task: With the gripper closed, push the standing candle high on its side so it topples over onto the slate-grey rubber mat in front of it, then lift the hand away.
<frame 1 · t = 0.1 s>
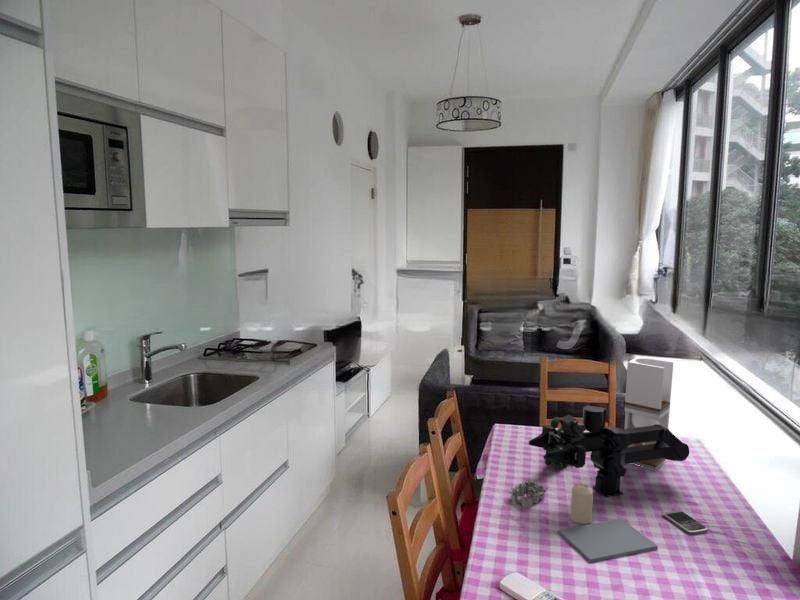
hand: (537, 448, 167), 17 cm above the table, tool horizontal, fingers open, 9 cm apart
cell phone: (683, 525, 159), on the table
candle: (580, 520, 160), on the table
toy figurine: (562, 461, 198), on the table
rubber mat: (606, 540, 150), on the table
display case: (643, 461, 199), on the table
grey jagged ring-shaped piece: (527, 499, 172), on the table
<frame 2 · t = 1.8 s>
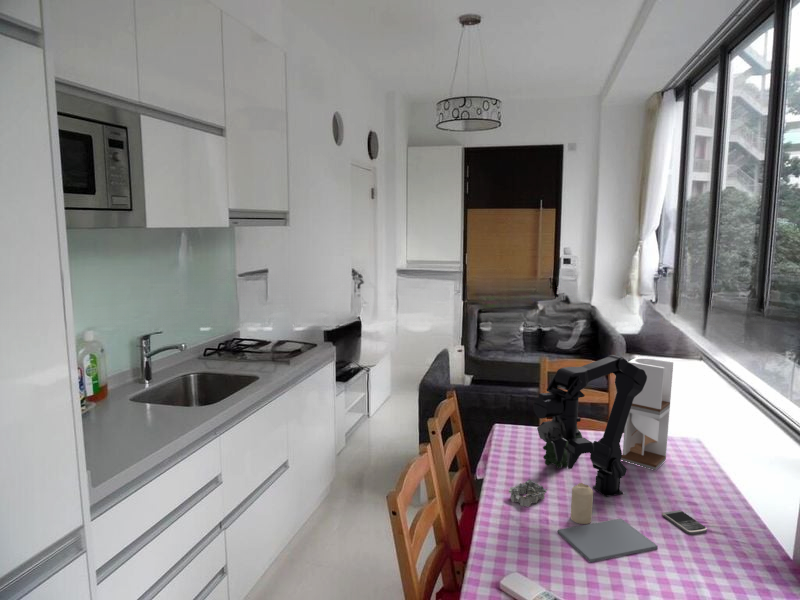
hand: (564, 464, 167), 12 cm above the table, tool pointing down, fingers open, 5 cm apart
nothing on the table moved.
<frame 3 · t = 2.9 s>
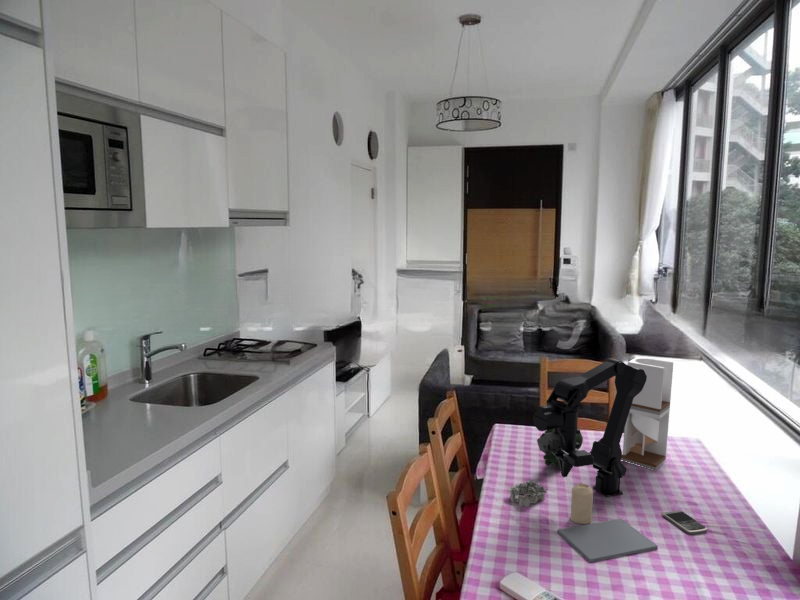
hand: (564, 476, 167), 9 cm above the table, tool pointing down, fingers closed
nothing on the table moved.
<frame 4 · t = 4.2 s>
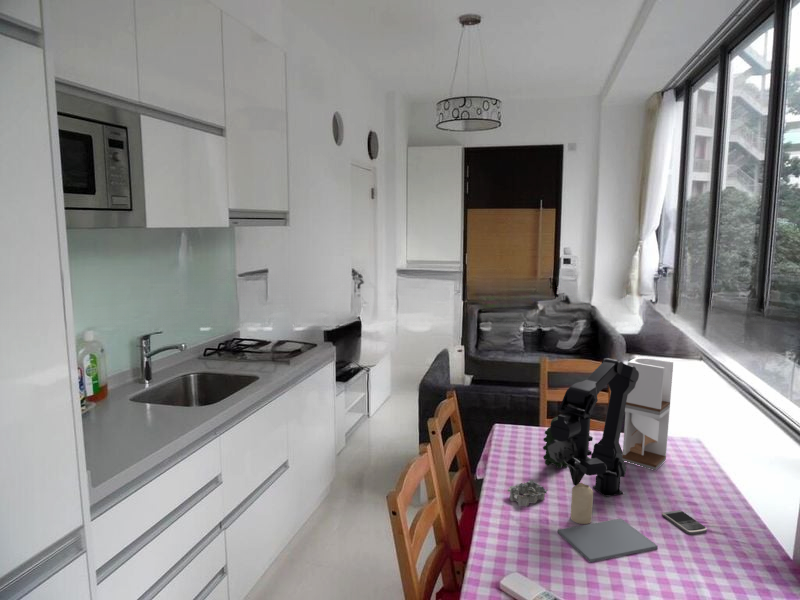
hand: (575, 485, 162), 9 cm above the table, tool pointing down, fingers closed
candle: (580, 520, 160), on the table, touching gripper
everything else where it was.
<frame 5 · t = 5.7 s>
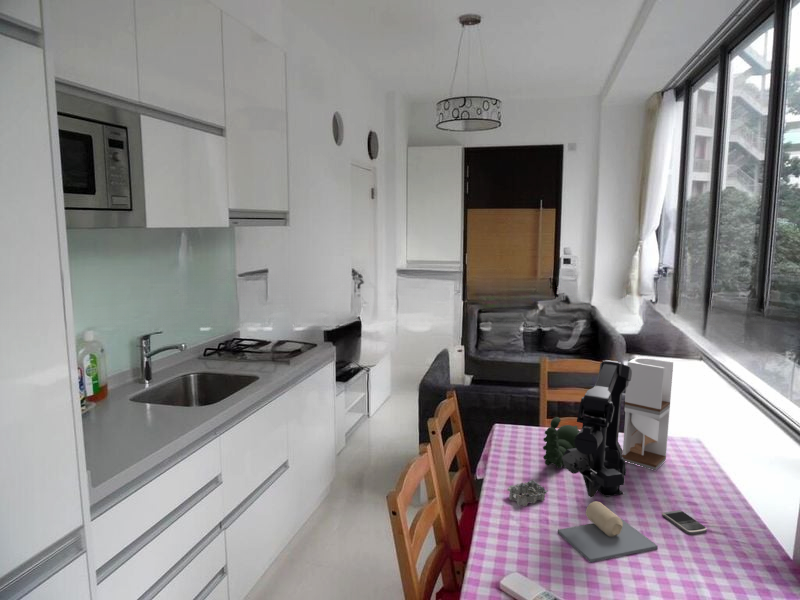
hand: (591, 496, 155), 9 cm above the table, tool pointing down, fingers closed
candle: (594, 510, 158), point 4 cm above the table, touching rubber mat
everything else where it was.
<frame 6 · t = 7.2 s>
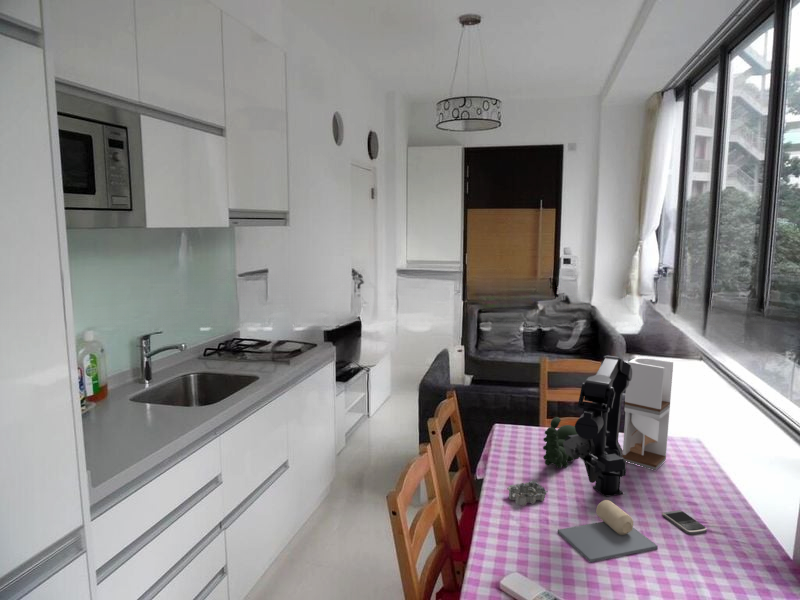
hand: (592, 482, 156), 12 cm above the table, tool pointing down, fingers closed
candle: (604, 508, 159), point 4 cm above the table, touching rubber mat
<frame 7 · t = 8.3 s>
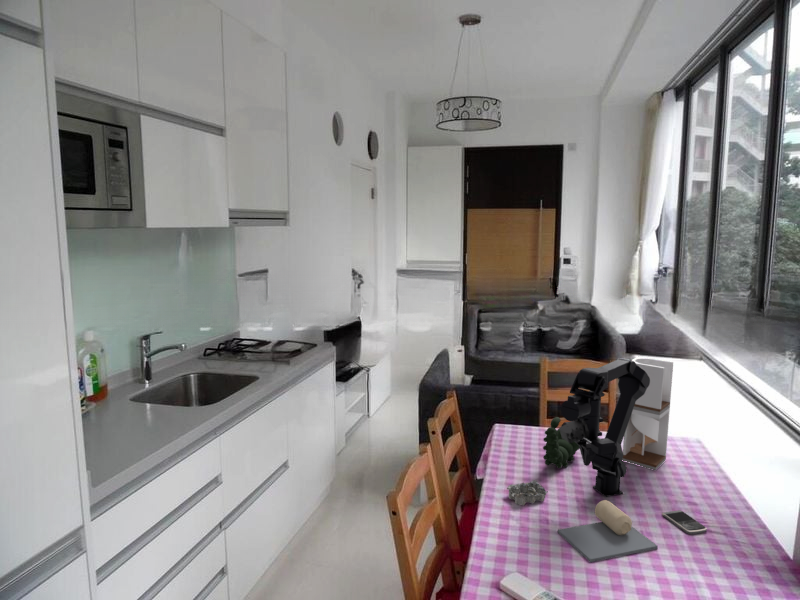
hand: (586, 465, 167), 12 cm above the table, tool pointing down, fingers closed
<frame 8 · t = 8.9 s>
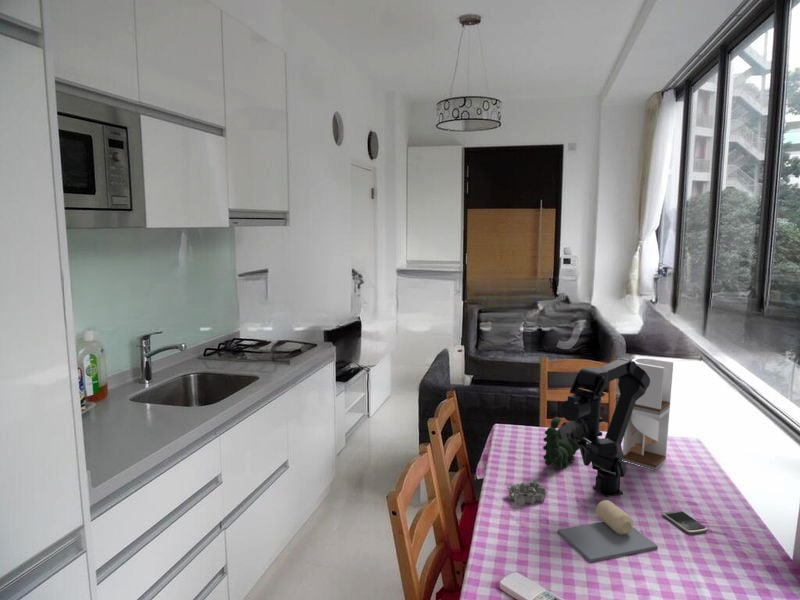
hand: (586, 465, 167), 12 cm above the table, tool pointing down, fingers closed
at the end: candle tilted 90°; candle touching rubber mat; candle inside the target area (8.4 cm from its centre), point 3.5 cm above the table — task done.
